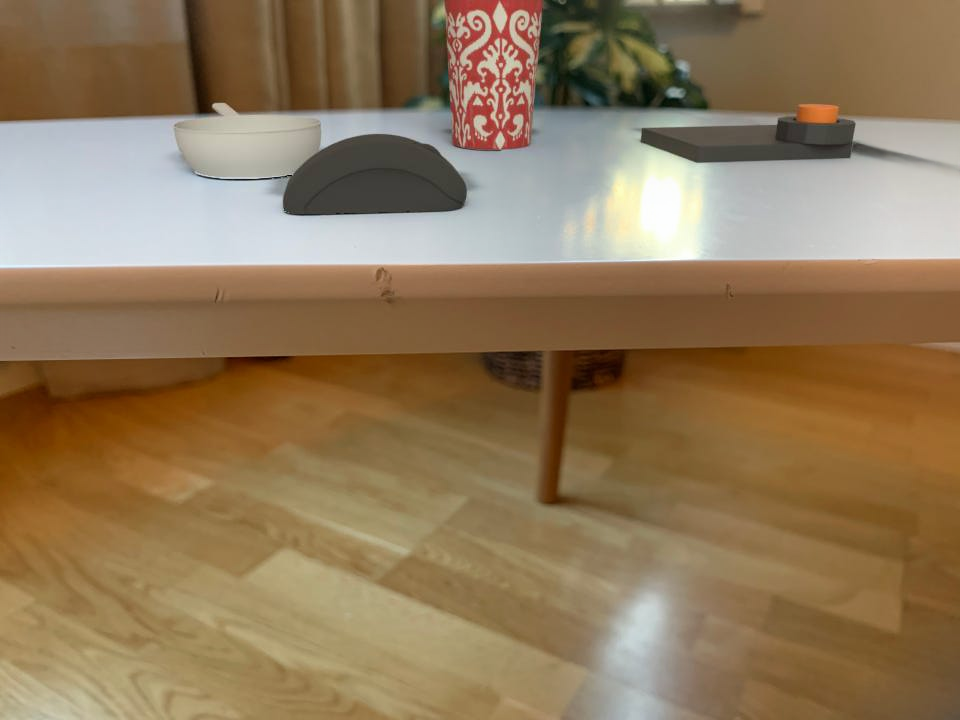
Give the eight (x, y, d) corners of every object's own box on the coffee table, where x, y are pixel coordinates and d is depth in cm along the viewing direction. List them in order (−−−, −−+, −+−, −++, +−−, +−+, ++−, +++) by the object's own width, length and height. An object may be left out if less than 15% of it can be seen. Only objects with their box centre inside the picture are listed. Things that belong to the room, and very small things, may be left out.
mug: (552, 151, 72) (558, -17, 67) (450, 153, 71) (449, -19, 65) (521, 132, 83) (524, -12, 78) (433, 134, 82) (431, -14, 77)
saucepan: (190, 187, 56) (182, 130, 54) (160, 151, 71) (153, 105, 69) (342, 176, 60) (338, 122, 59) (283, 144, 75) (279, 100, 74)
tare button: (821, 122, 71) (824, 103, 70) (843, 126, 68) (847, 107, 68) (787, 122, 70) (790, 104, 70) (809, 127, 67) (812, 108, 67)
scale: (779, 139, 80) (784, 107, 79) (864, 160, 68) (870, 123, 67) (640, 143, 77) (642, 110, 76) (703, 166, 65) (707, 127, 64)
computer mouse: (470, 210, 50) (470, 143, 48) (282, 215, 48) (275, 146, 47) (456, 190, 56) (456, 129, 54) (288, 194, 54) (283, 132, 52)
